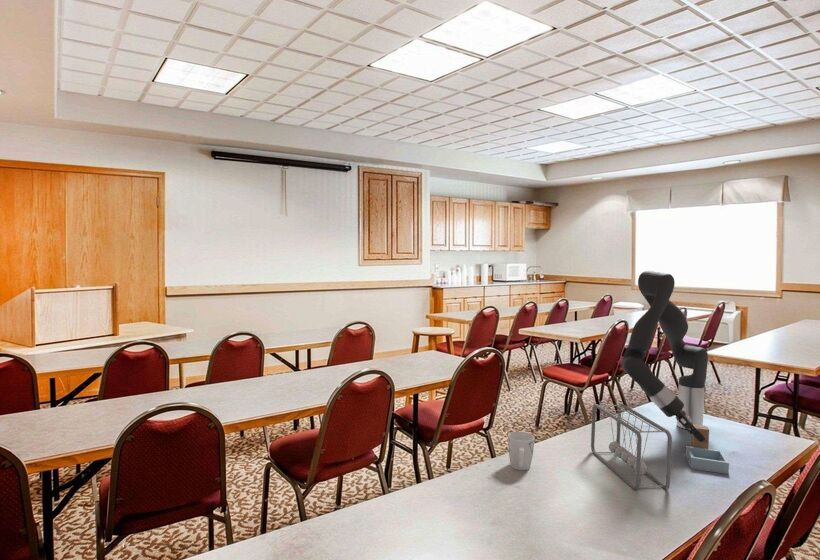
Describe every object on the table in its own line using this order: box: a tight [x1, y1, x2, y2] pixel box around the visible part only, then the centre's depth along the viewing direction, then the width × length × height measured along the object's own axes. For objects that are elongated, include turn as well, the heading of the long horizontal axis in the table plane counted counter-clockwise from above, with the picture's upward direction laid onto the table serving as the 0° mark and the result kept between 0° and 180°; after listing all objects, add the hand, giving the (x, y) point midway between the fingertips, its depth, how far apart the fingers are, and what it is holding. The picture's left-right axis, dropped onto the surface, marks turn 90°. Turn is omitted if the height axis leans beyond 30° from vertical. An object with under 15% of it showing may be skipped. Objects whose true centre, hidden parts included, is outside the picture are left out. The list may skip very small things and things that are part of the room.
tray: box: [685, 445, 730, 475], centre depth 164 cm, size 11×11×4 cm
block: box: [690, 424, 710, 449], centre depth 175 cm, size 4×4×9 cm
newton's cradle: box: [590, 403, 673, 490], centre depth 158 cm, size 30×10×18 cm, turn 5°
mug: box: [507, 431, 535, 471], centre depth 158 cm, size 11×8×10 cm
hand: (700, 436), depth 174 cm, fingers open, 8 cm apart
